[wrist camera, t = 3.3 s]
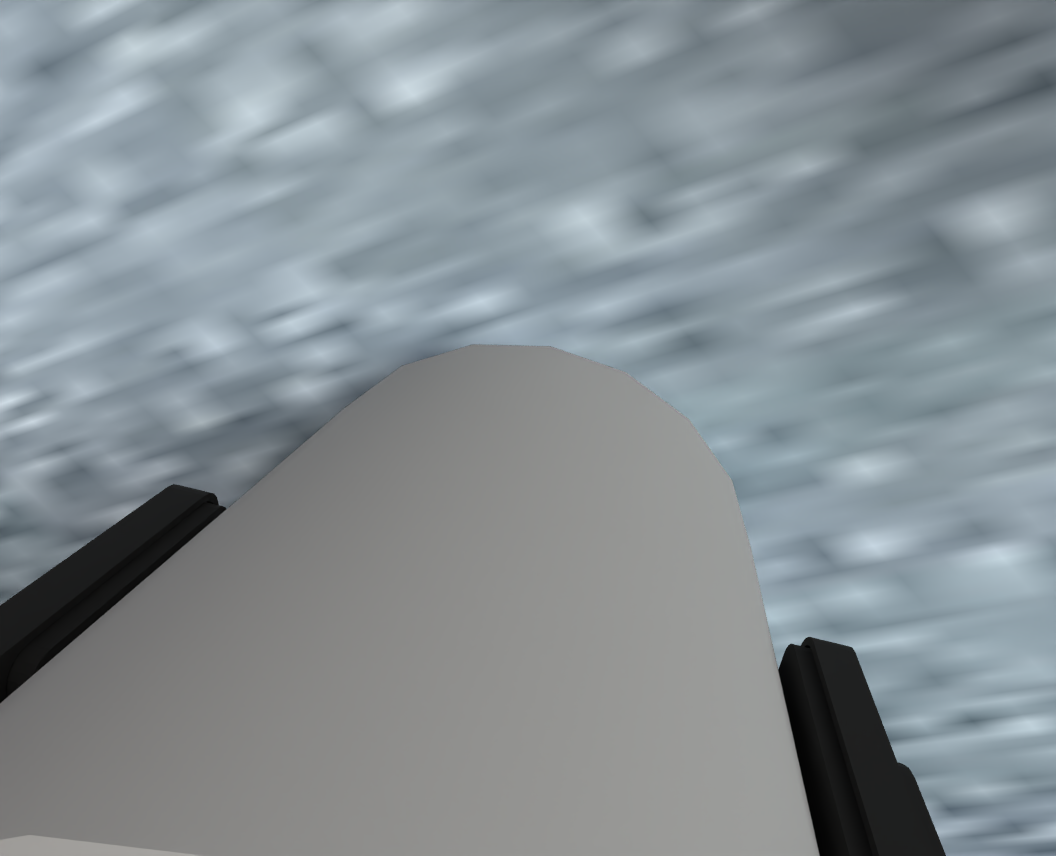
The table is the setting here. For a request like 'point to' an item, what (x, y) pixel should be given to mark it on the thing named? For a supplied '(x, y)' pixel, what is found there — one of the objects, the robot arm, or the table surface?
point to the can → (434, 647)
